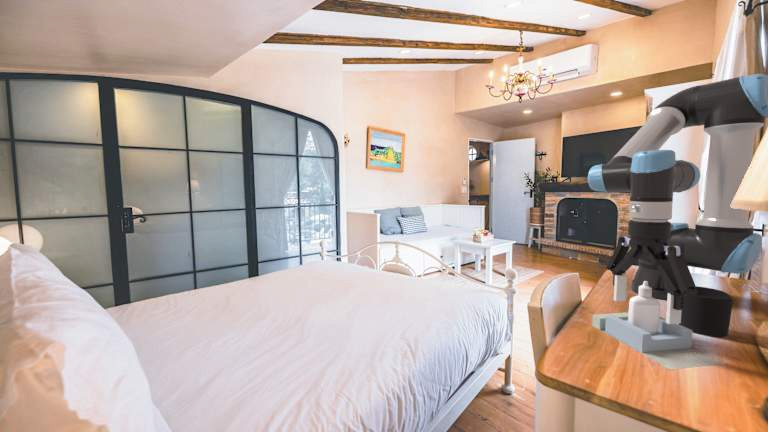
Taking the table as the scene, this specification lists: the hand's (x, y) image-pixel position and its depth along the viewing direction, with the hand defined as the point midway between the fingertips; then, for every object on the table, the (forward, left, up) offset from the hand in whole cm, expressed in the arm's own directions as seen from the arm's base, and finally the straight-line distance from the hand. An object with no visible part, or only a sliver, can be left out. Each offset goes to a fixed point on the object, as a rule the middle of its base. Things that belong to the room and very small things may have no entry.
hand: (644, 311), depth 76 cm
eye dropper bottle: (0, 0, -5) cm, 5 cm away
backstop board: (0, +2, -7) cm, 7 cm away
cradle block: (0, +1, -6) cm, 6 cm away
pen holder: (-18, -2, -7) cm, 20 cm away
